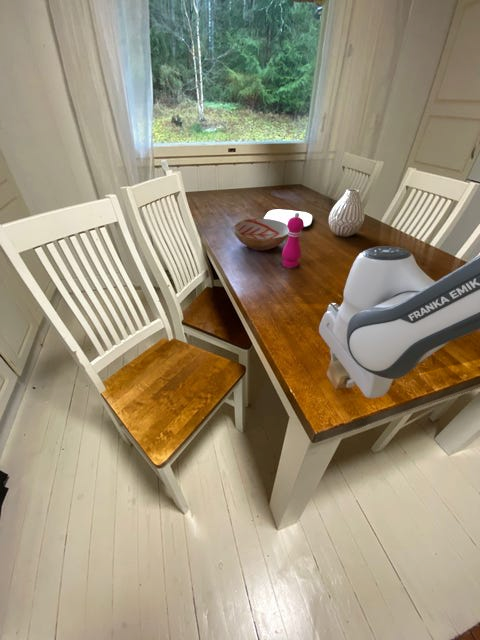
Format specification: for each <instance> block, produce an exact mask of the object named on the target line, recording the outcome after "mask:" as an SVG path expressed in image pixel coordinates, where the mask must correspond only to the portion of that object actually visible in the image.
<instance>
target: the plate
mask: <svg viewBox="0 0 480 640" xmlns="http://www.w3.org/2000/svg"><path fill="white" fill-rule="evenodd" d="M295 213H299V217H300V218H302V219H303V221H304V227H303V228H307V227H309V226H310V225H311V224H312V221H313V215H312V214H310V213H309V212H306V211H298V210H291V209H272V210H269V211H268V212H267V213H266V214H265V216H264V217H263V218H264V219H272V220H277V221H280V222H283V223H285V224H287V223H288V220H289V219H290V218H292V217H294V214H295Z"/></svg>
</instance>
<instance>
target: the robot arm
mask: <svg viewBox="0 0 480 640" xmlns="http://www.w3.org/2000/svg"><path fill="white" fill-rule="evenodd" d="M417 263H418V262H416V259H415V257H414V255H413V254H412V253H411V251H409V250H407V249H405V248H402V247H398V246H393V245H392V246H391V245H385V246H384V245H382V246H381V245H379V246H374V247H370V248H368V249H365V250H363V251H361V252H360V253H359V254H358V255H357V256H356V258H355V260H354V261H353V263H352V265H351V268H350V270H349V273H348V276H347V279H346V281H345V285H344V288H343V301H342V303H341V304H340V305H339V304H338V303H337V302H331V303H329V304H328V306H327V309H326V312H325V313H324V314H323V316H322V318H321V321H320V324H319V327H318V333H319V335H320V337H321V338H322V339H323V341H324V342H325V344H326V345H327V346H328V348H329V352H330V358H331V360H330V362H332V361H336V360H339V361H340V363H341V364H342V365H343V367H344V368H345V369H346V371H347V372H348V374H349V375H350V377H349V378H345V380H344V384H345V385H346V387H345V388H347V389H350V388H354V387H355V385H356V386H357V387H358V389H359V390H360V392H361V393H362V394H363V396H364V397H365V398H367V399H377V398H380V397H383V396H385V395H386V394H387V393H388V392H389V390H390V388H391V386H392V384H393V382H394V380H397V379H402V378H403V377H405V376H406V375H408V374H409V373H410V372H412V371H413V370H414V369H415V368H416V367H417V366H418V365H419V364H420V363H422V362H423V361H425V360H427V358H429V357H430V356H432V355H433V354H435V353H436V352H437V351H439V350H440V349H441V348H443V347H445V346H446V345H447V344H449V343H450V342H453V341H455V340H457V339H460V338H462V337H464V336H468V335H469V334H471V333H474V332H477V331H479V330H480V253H479V254H478V255H476V256H475V257H474V258H472V259H471V260H469V261H468V262H466V263H464V264H463V265H461V266H459V267H458V268H456V269H455V270H453V271H451V272H450V273H448V274H447V275H444V276H443V277H442V278H440V279H438V280H434V279H432V278H431V277H430V276H428V275H427V273H425V272H424V271H423V270H422V268H421V267H420V266H419V265H418V264H417Z"/></svg>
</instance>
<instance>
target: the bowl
mask: <svg viewBox="0 0 480 640" xmlns="http://www.w3.org/2000/svg"><path fill="white" fill-rule="evenodd" d="M288 230H289V229H288V227H287V224H285V223H283V222H280V221H277V220H272V219H264V217H263V218H262V217H261V218H260V217H258V218H257V217H256V218H248V219H247V218H246V219H243V220H240V221H239V220H238V221H237V222H236V223H234V224H233V225H232V231H233V233H234V235H235V237H236V238H237V240H238V241H239V242H240V243H241V244H243V245H244V246H246V247H248V248H249V249H252V250H254V251H262V252H263V251H268V250H271V249H273V248H276V247H278V246H279V245H281V244H282V243H284V241H285V240H286V239H287V237H288V234H287V233H288Z"/></svg>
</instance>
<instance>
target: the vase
mask: <svg viewBox="0 0 480 640" xmlns="http://www.w3.org/2000/svg"><path fill="white" fill-rule="evenodd" d="M364 221H365V208H364V205H363V202H362V199H361V192H360V190H359V189H356V188H347V189H346V190H345V193H344V194H343V196H342V197H341V198H340V199H338V200H337V202H336V203H335V204H334V205H333V207H332V208H331V210H330V213H329V215H328V227H329V229H330V231H331V232H332V233H333V234H334V236H335V235H336V236H337V237H343V238H347V237H351V236H353V235H355V234H356V233H357V232H359V230H361V228H362V226H363V224H364Z"/></svg>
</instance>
